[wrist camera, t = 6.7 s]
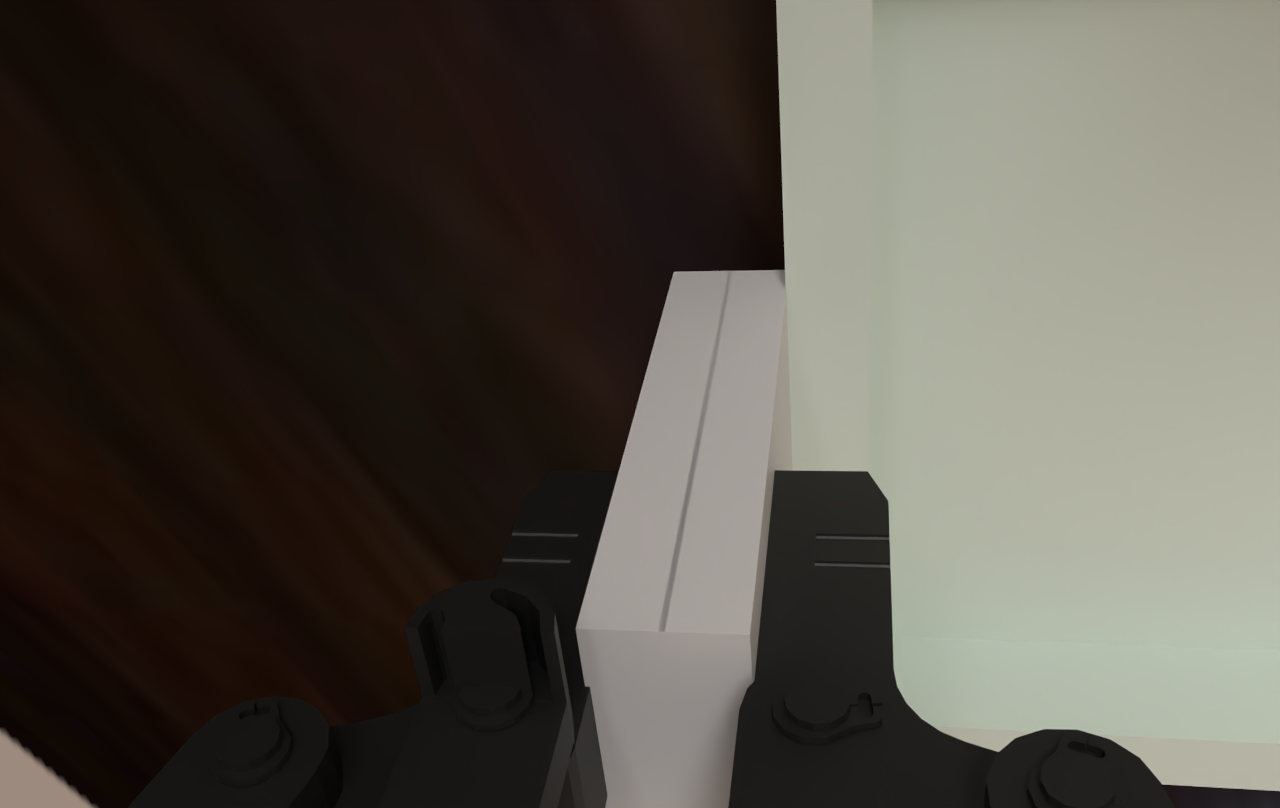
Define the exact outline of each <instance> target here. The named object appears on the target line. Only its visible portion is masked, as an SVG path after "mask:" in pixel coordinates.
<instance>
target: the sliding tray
mask: <svg viewBox="0 0 1280 808" xmlns="http://www.w3.org/2000/svg"><path fill="white" fill-rule="evenodd" d="M776 11H777V42H778V72H779V103H780V133H781V164H782V194H783V225H784V255H785V286H786V296H787V325H788V354H789V383H790V412H791V441H792V470H793V471H868V472H869V474H870V475H871V477H872V478H873V480H874V481H875V483H876V484H877V485H878V487H879V488H880V490H881V491H882V493H883V494H884V496H885V497H886V498H887V500H888V504H889V542H890V569H891V599H892V631H893V663H894V673H895V678H896V683H897V687H898V689H899V691H900V692H901V694H902V696H903V698H904V700H905V701H906V703H907V704H908V705H909V706H910V707H911V708H912V709H913V710H914V712H915V713H916V714H917V715H918V716H919V717H920V718H921V719H923V720H924V721H926V722H927V723H929V724H930V725H932V726H933V727H935V728H936V729H938V730H939V731H941V732H943V733H945V734H948V735H950V736H953V737H955V738H957V739H960V740H962V741H965V742H968V743H971V744H974V745H977V746H981V747H984V748H987V749H990V750H993V751H997V752H999V751H1001V750H1002V749H1003V748H1004V747H1005V746H1007V745H1008V744H1009V743H1010V742H1011V741H1012V740H1014V739H1015V738H1017V737H1020V736H1023V735H1027V734H1030V733H1033V732H1036V731H1039V730H1043V729H1074V730H1080V731H1084V732H1087V733H1090V734H1094V735H1097V736H1101V737H1104V738H1107V739H1111V740H1112V741H1114V742H1115V743H1117V744H1119V745H1120V746H1122V747H1123V748H1125V749H1127V750H1128V751H1130V752H1131V753H1133V754H1135V755H1136V756H1138V757H1139V758H1141V760H1142V761H1143V762H1144V763H1145V764H1146V766H1147V767H1148V768H1149V769H1150V770H1151V771H1152V773H1153V774H1154V775H1155V776H1156V777H1157V779H1158V780H1159V781H1160V782H1161V784H1165V785H1182V786H1200V787H1217V788H1235V789H1252V790H1270V791H1280V0H776Z"/></svg>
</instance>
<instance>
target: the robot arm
mask: <svg viewBox="0 0 1280 808" xmlns="http://www.w3.org/2000/svg"><path fill="white" fill-rule="evenodd" d="M502 558H503V560H502V563H500V564H499V567H498V569H497V572H496V575H495V577H494V578H493V579H484V580H474V581H467V582H465V583H462V584H459V585H456V586H454V587H451V588H448V589H446V590H443V591H440V592H439V593H438V594H436V595H435V596H433V597H432V598H431V599H429V600H428V601H426V602H425V603H424V604H422V605H421V606H419V607H418V608H417V610H416V611H415V612H414V614H413V615H412V617H411V618H410V619H409V621H408V622H407V624H406V625H405V626H404V630H405V634H406V637H407V641H408V645H409V649H410V653H411V656H412V660H413V664H414V668H415V671H416V675H417V679H418V683H419V686H420V690H421V694H422V698H421V700H420V703H418V704H416V705H414V706H412V707H409V708H407V709H405V710H402V711H399V712H396V713H393V714H389V715H386V716H383V717H378V718H373V719H369V720H364V721H359V722H355V723H350V724H345V725H341V726H336V727H331V728H329V725H328V723H327V722H326V720H325V719H324V717H323V716H322V714H321V712H320V711H319V709H318V708H316V707H315V706H313V705H311V704H309V703H307V702H305V701H303V700H301V699H299V698H292V697H279V696H269V697H264V698H259V699H255V700H250V701H245V702H242V703H240V704H238V705H236V706H234V707H232V708H230V709H228V710H226V711H223V712H221V713H219V714H217V715H215V716H214V717H213V718H212V719H211V720H209V721H208V722H207V723H206V724H205V725H203V726H202V727H201V728H200V729H199V730H198V731H196V732H195V733H194V734H193V735H192V736H191V737H190V738H189V739H188V740H187V741H186V743H185V744H184V745H183V746H182V747H181V748H180V749H179V750H178V752H177V753H176V754H175V755H174V756H173V757H172V758H171V759H170V761H169V762H168V763H167V764H166V765H165V766H164V767H163V768H162V769H161V771H160V772H159V773H158V774H157V775H156V776H155V777H154V778H153V780H152V781H151V782H150V783H149V784H148V785H147V786H146V787H145V789H144V790H143V791H142V792H141V793H140V794H139V795H138V796H137V798H136V799H135V800H134V801H133V802H132V803H131V804H130V805H129V806H128V808H1175V807H1174V805H1173V803H1172V801H1171V800H1170V798H1169V796H1168V794H1167V793H1166V791H1165V789H1164V787H1163V786H1162V784H1161V782H1160V781H1159V780H1158V779H1157V777H1156V776H1155V775H1154V774H1153V773H1152V771H1151V770H1150V769H1149V768H1148V767H1147V766H1146V764H1145V763H1144V762H1143V761H1142V760H1141V758H1139V757H1138V756H1136V755H1135V754H1133V753H1131V752H1130V751H1128V750H1127V749H1125V748H1123V747H1122V746H1120V745H1119V744H1117V743H1115V742H1114V741H1112V740H1111V739H1107V738H1104V737H1101V736H1097V735H1094V734H1090V733H1087V732H1084V731H1080V730H1074V729H1043V730H1039V731H1036V732H1033V733H1030V734H1027V735H1023V736H1020V737H1017V738H1015V739H1014V740H1012V741H1011V742H1010V743H1009V744H1008V745H1007V746H1005V747H1004V748H1003V749H1002V750H1001V751H999V752H997V751H993V750H990V749H987V748H984V747H981V746H977V745H974V744H971V743H968V742H965V741H962V740H960V739H957V738H955V737H953V736H950V735H948V734H945V733H943V732H941V731H939V730H938V729H936V728H935V727H933V726H932V725H930V724H929V723H927V722H926V721H924V720H923V719H921V718H920V717H919V716H918V715H917V714H916V713H915V712H914V710H913V709H912V708H911V707H910V706H909V705H908V704H907V703H906V701H905V700H904V698H903V696H902V694H901V692H900V691H899V689H898V687H897V683H896V678H895V673H894V663H893V631H892V599H891V569H890V542H889V504H888V500H887V498H886V497H885V496H884V494H883V493H882V491H881V490H880V488H879V487H878V485H877V484H876V483H875V481H874V480H873V478H872V477H871V475H870V474H869V472H868V471H793V470H792V441H791V412H790V383H789V354H788V325H787V296H786V286H785V270H752V271H691V272H674V273H673V277H672V280H671V284H670V288H669V291H668V295H667V298H666V302H665V306H664V309H663V313H662V317H661V320H660V324H659V327H658V331H657V335H656V338H655V342H654V346H653V349H652V353H651V356H650V360H649V364H648V367H647V371H646V375H645V378H644V382H643V385H642V389H641V393H640V396H639V400H638V404H637V407H636V411H635V415H634V418H633V422H632V425H631V429H630V433H629V436H628V440H627V444H626V447H625V451H624V454H623V458H622V462H621V465H620V469H619V472H614V471H551V472H550V473H549V474H548V475H547V476H546V477H545V478H544V479H543V480H542V481H541V482H540V483H539V484H538V485H537V486H536V487H535V488H534V489H533V490H532V491H531V492H530V493H529V494H528V495H527V496H526V497H525V498H524V499H523V502H522V505H521V508H520V510H519V513H518V516H517V518H516V521H515V524H514V526H513V529H512V537H509V540H508V542H507V545H506V548H505V551H504V553H503V556H502Z"/></svg>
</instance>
